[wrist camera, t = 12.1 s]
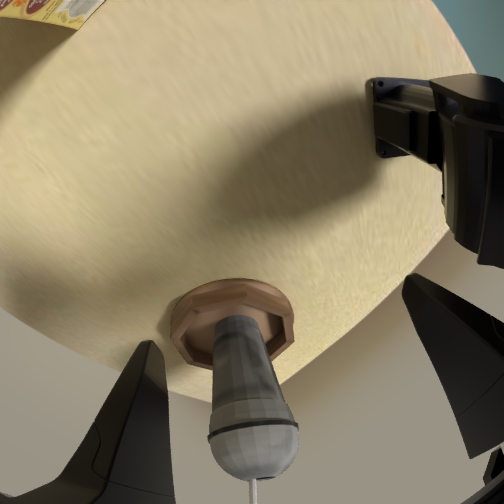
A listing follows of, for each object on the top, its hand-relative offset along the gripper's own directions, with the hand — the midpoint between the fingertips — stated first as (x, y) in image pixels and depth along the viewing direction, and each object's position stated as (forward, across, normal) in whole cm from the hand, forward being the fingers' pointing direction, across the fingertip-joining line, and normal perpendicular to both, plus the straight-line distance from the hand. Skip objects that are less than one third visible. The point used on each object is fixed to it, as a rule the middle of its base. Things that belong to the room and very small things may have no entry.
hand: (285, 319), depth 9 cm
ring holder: (+13, +4, +15) cm, 20 cm away
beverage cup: (+13, +4, +15) cm, 20 cm away
